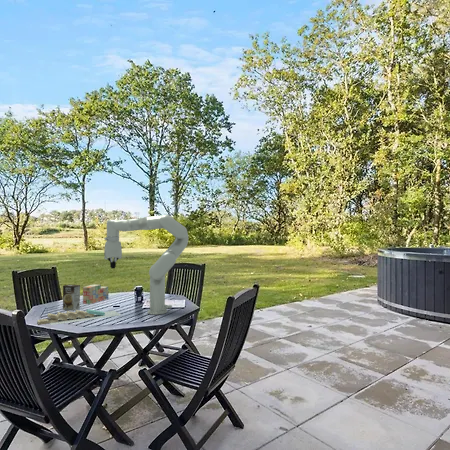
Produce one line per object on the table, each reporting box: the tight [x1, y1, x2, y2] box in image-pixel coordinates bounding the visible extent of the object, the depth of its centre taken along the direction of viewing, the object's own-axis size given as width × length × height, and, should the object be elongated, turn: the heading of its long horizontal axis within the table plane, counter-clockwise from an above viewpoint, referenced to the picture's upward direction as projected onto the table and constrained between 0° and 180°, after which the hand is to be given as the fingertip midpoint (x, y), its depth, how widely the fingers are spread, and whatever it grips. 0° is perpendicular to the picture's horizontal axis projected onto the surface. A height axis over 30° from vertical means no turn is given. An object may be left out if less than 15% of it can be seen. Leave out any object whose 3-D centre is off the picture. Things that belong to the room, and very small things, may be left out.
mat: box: [49, 310, 121, 326], centre depth 220 cm, size 40×14×1 cm, turn 124°
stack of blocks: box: [82, 283, 109, 305], centre depth 270 cm, size 21×6×12 cm, turn 161°
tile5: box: [46, 312, 67, 321], centre depth 211 cm, size 2×5×10 cm
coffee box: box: [62, 284, 81, 311], centre depth 243 cm, size 9×6×16 cm
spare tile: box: [85, 308, 105, 316], centre depth 223 cm, size 2×5×10 cm
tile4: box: [56, 311, 76, 320], centre depth 214 cm, size 2×5×10 cm
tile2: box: [74, 309, 94, 317], centre depth 220 cm, size 2×5×10 cm
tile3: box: [65, 310, 85, 318], centre depth 217 cm, size 2×5×10 cm
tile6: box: [36, 317, 58, 326], centre depth 208 cm, size 2×5×10 cm
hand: (113, 268), depth 229 cm, fingers closed
